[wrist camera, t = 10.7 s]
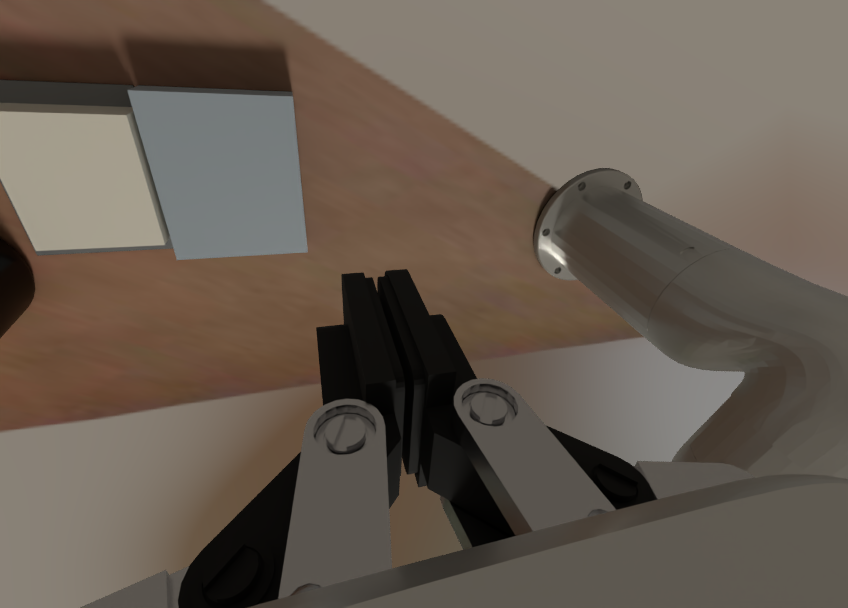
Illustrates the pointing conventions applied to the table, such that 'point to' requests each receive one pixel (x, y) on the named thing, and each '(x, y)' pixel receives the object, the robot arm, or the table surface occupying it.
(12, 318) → the ink bottle
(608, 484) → the robot arm
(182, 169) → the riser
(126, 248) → the mat
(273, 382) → the table surface
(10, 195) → the tile
